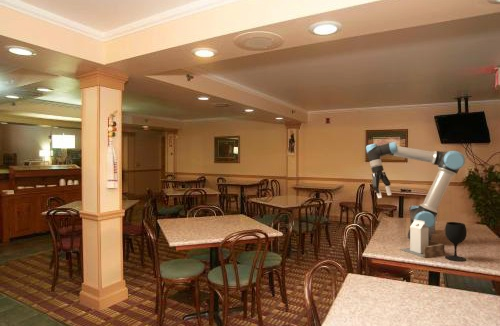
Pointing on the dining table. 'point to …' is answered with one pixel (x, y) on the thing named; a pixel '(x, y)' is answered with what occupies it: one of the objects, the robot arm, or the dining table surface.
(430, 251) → the corner walls
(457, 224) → the wine glass
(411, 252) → the mat
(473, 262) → the dining table surface
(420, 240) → the milk carton
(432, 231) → the can
